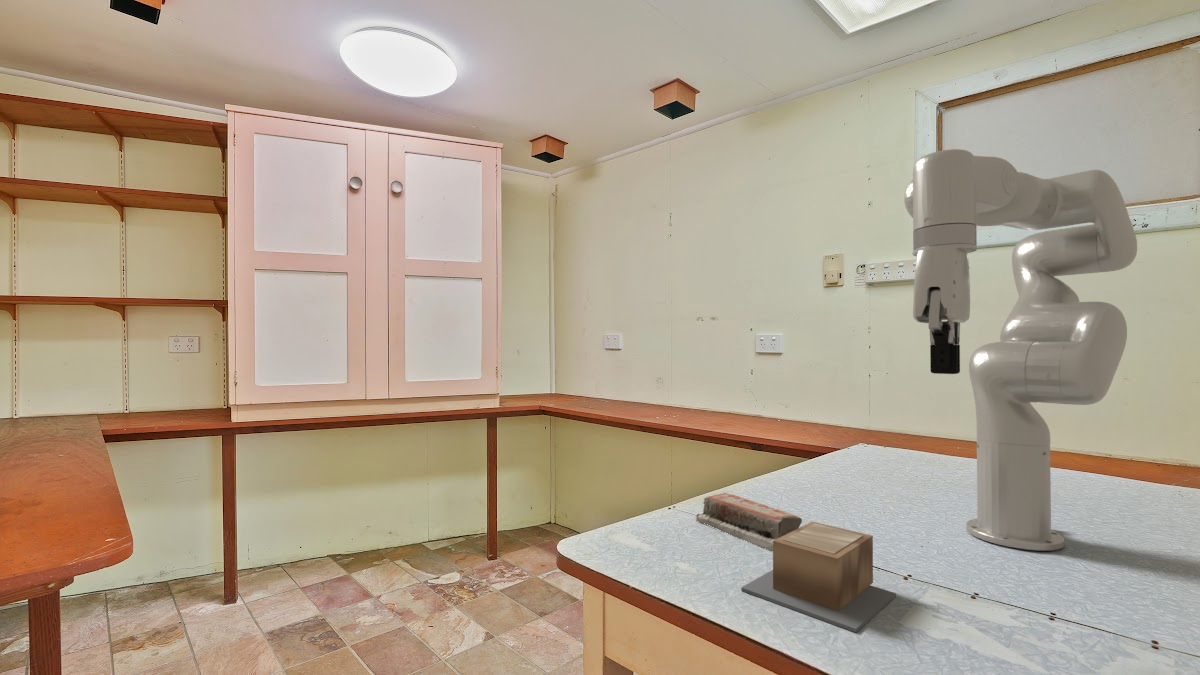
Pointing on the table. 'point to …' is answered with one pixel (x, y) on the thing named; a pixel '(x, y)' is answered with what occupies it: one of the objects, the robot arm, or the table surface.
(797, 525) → the packaged product
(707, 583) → the table surface
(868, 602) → the mat
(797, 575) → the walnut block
